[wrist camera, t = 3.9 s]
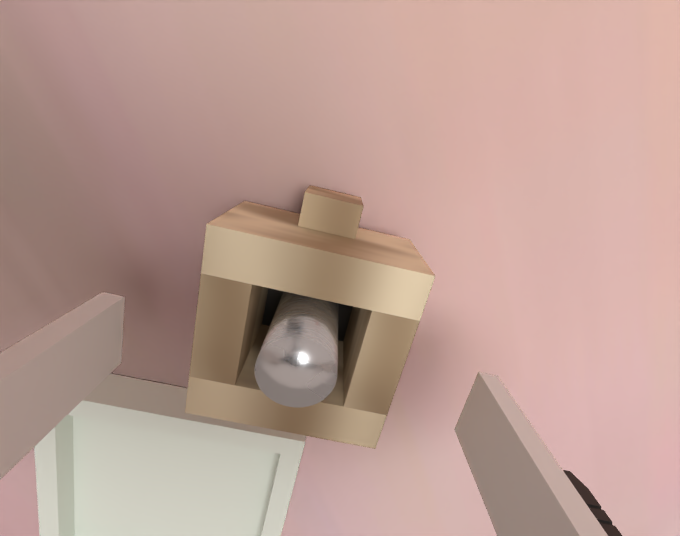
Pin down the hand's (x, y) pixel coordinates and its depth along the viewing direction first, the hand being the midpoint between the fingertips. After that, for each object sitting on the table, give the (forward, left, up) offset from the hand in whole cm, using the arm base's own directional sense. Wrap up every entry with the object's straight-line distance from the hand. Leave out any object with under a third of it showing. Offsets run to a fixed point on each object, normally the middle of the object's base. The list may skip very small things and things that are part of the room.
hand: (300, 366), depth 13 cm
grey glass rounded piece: (0, 0, -7) cm, 7 cm away
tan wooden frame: (0, 0, -6) cm, 6 cm away
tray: (-6, -16, -7) cm, 18 cm away
